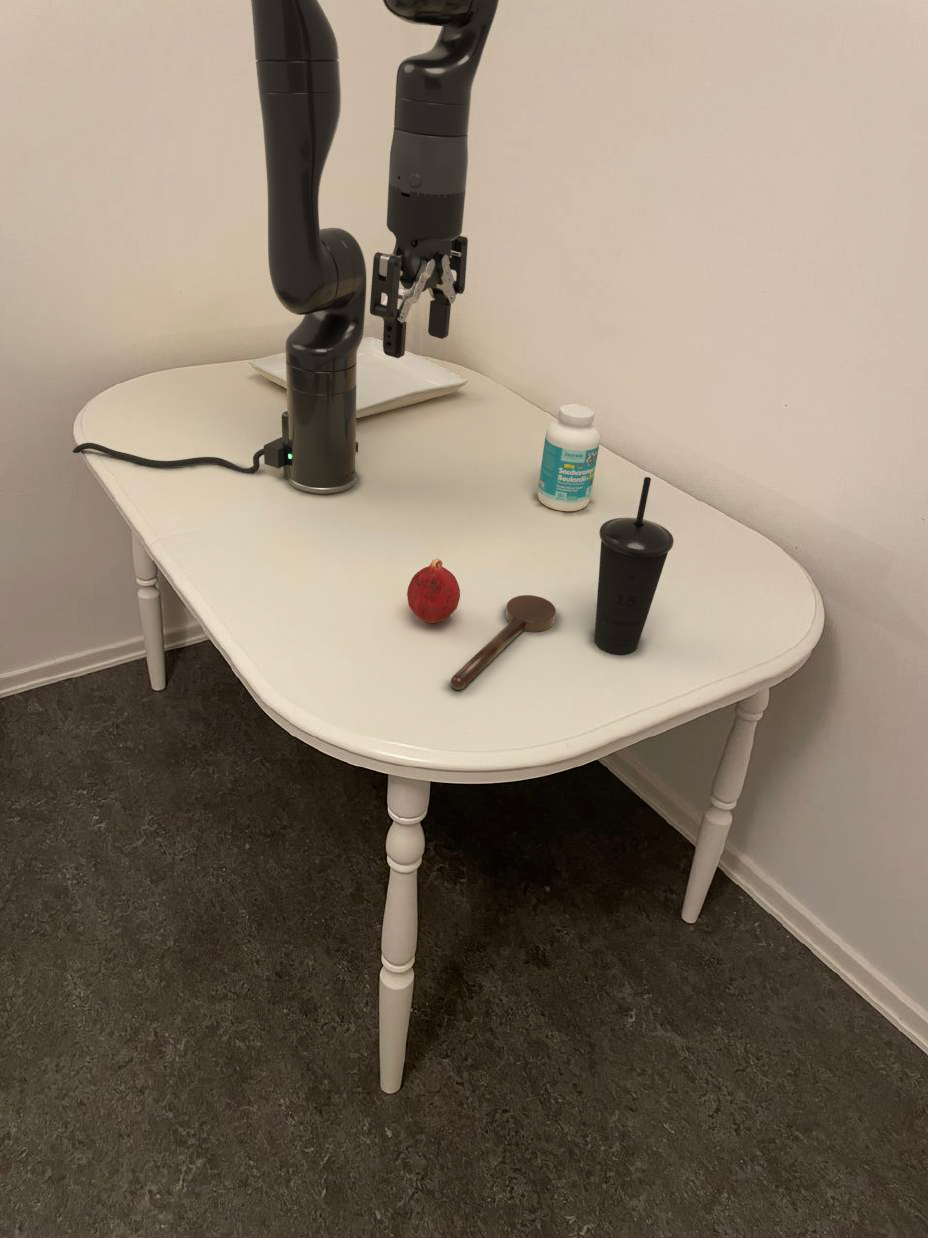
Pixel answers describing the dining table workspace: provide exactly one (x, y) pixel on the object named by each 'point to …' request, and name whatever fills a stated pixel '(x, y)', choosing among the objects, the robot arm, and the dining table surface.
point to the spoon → (509, 633)
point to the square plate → (381, 378)
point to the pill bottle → (569, 459)
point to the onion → (433, 593)
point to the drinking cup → (628, 577)
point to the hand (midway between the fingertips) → (416, 345)
